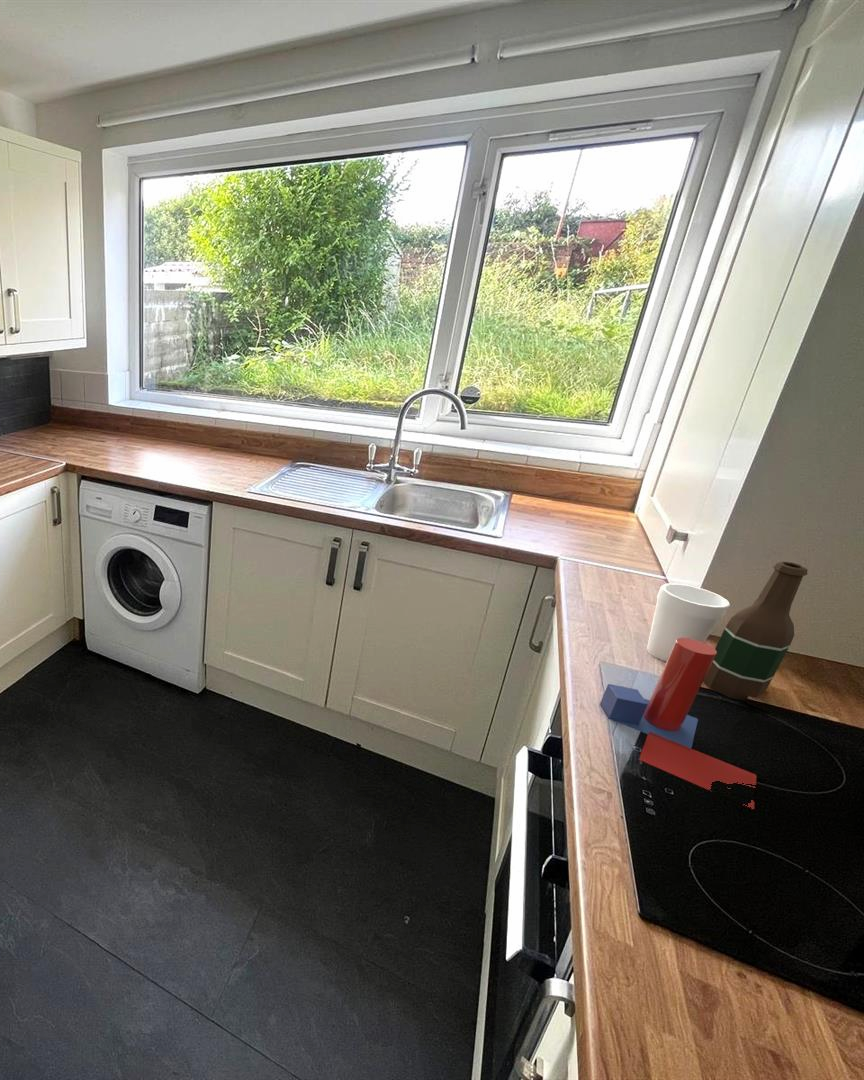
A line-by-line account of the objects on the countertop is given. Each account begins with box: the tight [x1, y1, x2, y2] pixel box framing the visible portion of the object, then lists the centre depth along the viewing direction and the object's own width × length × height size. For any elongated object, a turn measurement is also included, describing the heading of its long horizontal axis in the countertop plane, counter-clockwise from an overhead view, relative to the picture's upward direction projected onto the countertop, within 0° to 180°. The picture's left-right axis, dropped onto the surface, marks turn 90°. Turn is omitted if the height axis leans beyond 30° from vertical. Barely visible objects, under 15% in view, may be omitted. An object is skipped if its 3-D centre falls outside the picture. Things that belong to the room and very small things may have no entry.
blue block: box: [599, 683, 648, 725], centre depth 92 cm, size 4×4×4 cm
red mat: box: [638, 732, 757, 810], centre depth 83 cm, size 12×9×1 cm
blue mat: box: [610, 698, 699, 750], centre depth 92 cm, size 10×11×1 cm
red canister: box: [643, 638, 717, 731], centre depth 89 cm, size 5×5×14 cm
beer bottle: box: [703, 561, 808, 702], centre depth 96 cm, size 8×8×24 cm
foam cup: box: [646, 582, 731, 663], centre depth 108 cm, size 10×9×13 cm
